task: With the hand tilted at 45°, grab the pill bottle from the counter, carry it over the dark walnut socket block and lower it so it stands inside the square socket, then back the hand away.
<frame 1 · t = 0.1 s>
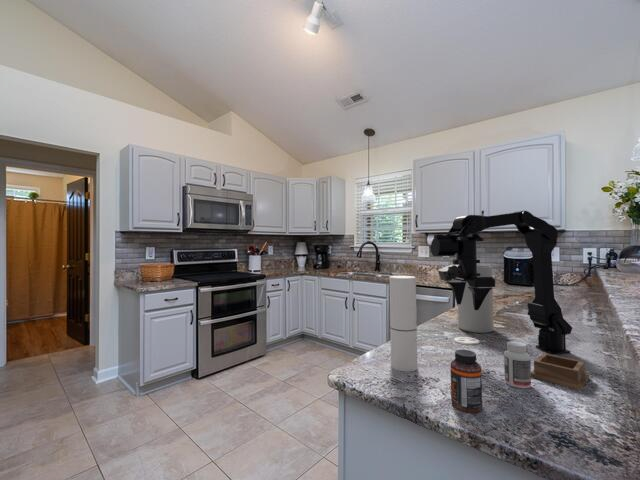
hand: (467, 307, 94), 15 cm above the counter, tool pointing down, fingers open, 9 cm apart
pendant: (470, 342, 106), on the counter
pill bottle: (517, 384, 74), on the counter
cylindrical container: (404, 367, 85), on the counter
supplement bottle: (466, 407, 64), on the counter
socket block: (559, 377, 77), on the counter
cylinder vase: (475, 329, 121), on the counter
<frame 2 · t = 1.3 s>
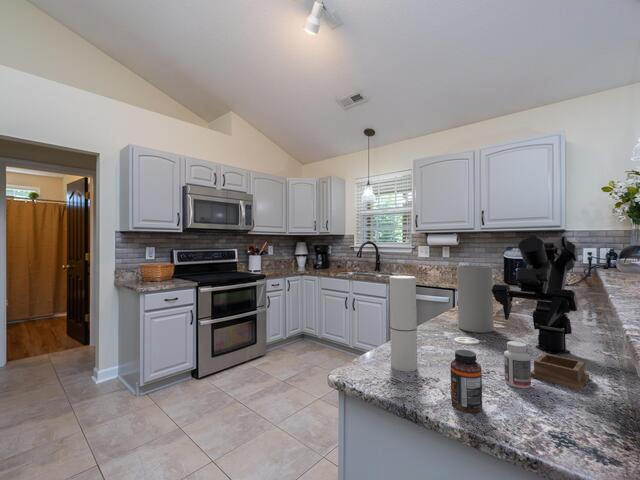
hand: (525, 322, 79), 13 cm above the counter, tool tilted 45°, fingers open, 9 cm apart
nothing on the counter moved.
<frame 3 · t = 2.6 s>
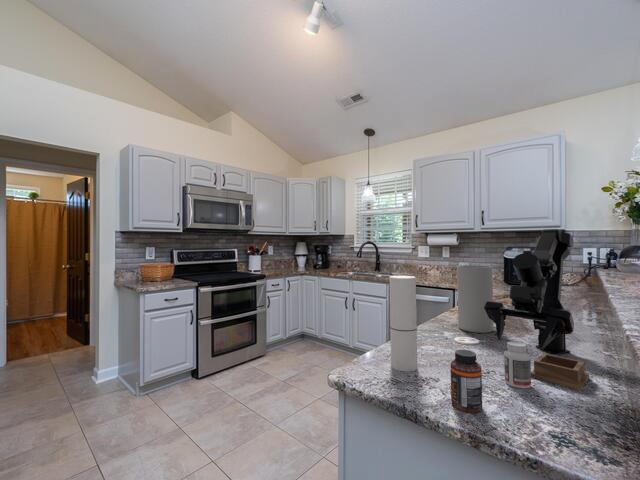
hand: (519, 343, 75), 9 cm above the counter, tool tilted 45°, fingers open, 9 cm apart
nothing on the counter moved.
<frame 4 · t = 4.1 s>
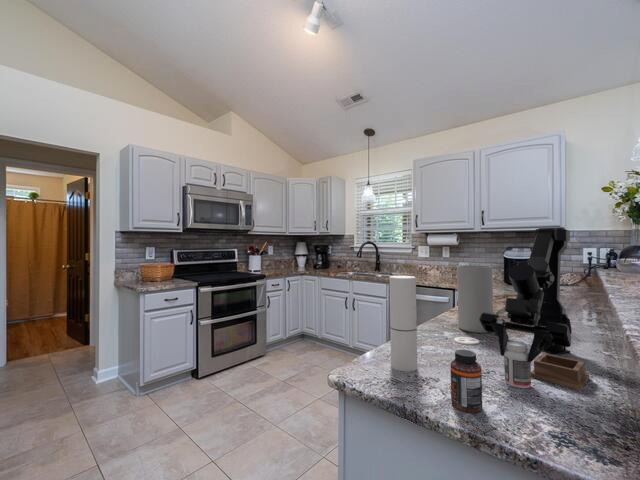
hand: (515, 358, 73), 7 cm above the counter, tool tilted 45°, fingers closed on pill bottle, 5 cm apart
pill bottle: (517, 384, 74), on the counter, touching gripper
everything else where it was.
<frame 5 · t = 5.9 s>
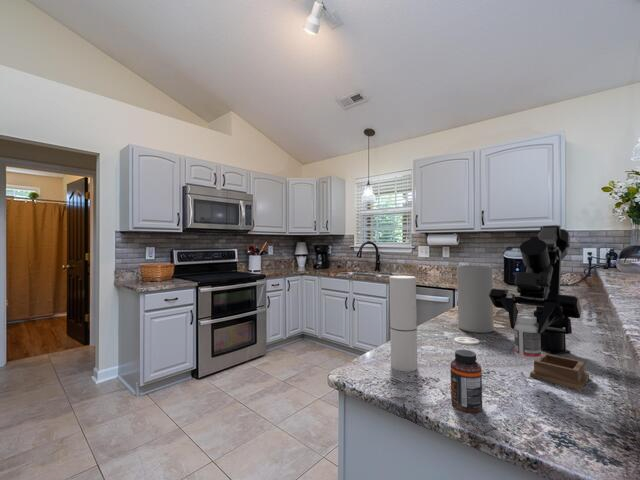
hand: (525, 330, 74), 13 cm above the counter, tool tilted 45°, fingers closed on pill bottle, 5 cm apart
pill bottle: (527, 356, 75), point 6 cm above the counter, touching gripper
everything else where it was.
when the fingers open (9 cm above the counter, at t = 8.0 s): pill bottle drops 1 cm, resting on socket block.
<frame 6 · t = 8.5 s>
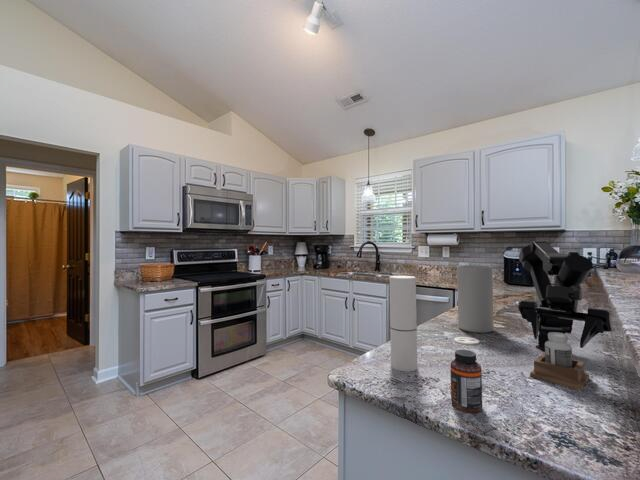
hand: (557, 342, 76), 9 cm above the counter, tool tilted 45°, fingers open, 9 cm apart
pill bottle: (559, 373, 77), point 1 cm above the counter, touching socket block
everything else where it was.
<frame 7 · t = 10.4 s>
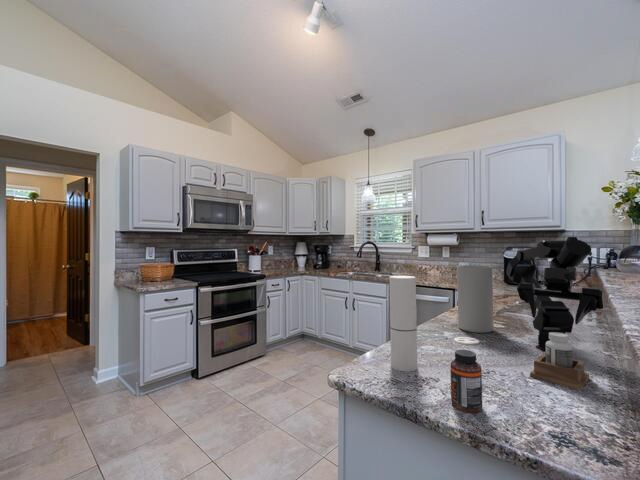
hand: (554, 320, 82), 13 cm above the counter, tool tilted 45°, fingers open, 9 cm apart
nothing on the counter moved.
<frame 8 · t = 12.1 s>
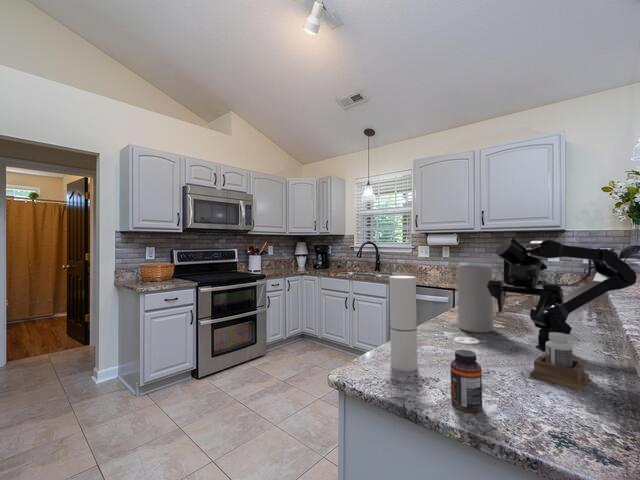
hand: (517, 313, 88), 14 cm above the counter, tool tilted 45°, fingers open, 9 cm apart
nothing on the counter moved.
at the end: pill bottle 0.2 cm off-centre on the socket block, point 0.8 cm above the socket block's base; pill bottle tilted 1°; the gripper is holding nothing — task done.
